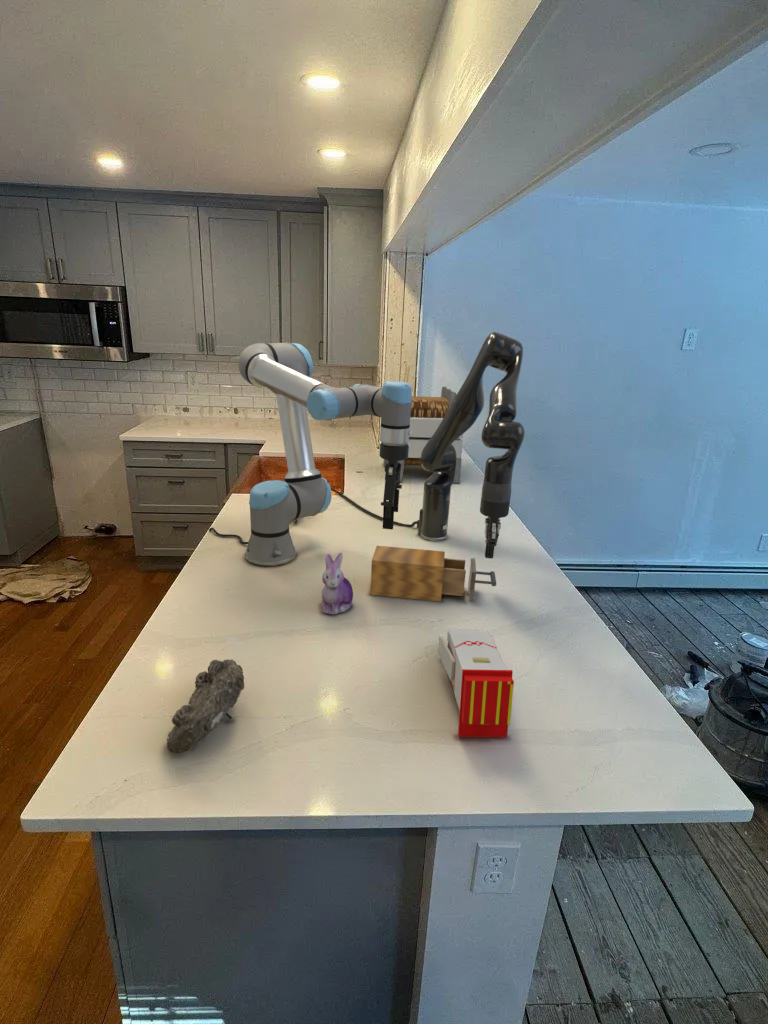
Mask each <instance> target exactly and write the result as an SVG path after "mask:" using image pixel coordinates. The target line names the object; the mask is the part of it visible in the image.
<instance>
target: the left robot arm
mask: <svg viewBox="0 0 768 1024" xmlns="http://www.w3.org/2000/svg"><path fill="white" fill-rule="evenodd" d="M237 363H238V371H239V373H240V375H241V377H242V378H243V379H244V380H245V381H246V382H247V383H249V384H250V385H252V386H254V387H256V388H260V389H261V388H262V389H263V388H267V389H268V390H270V391H271V392H272V393H273V394H274V395H275V396H276V402H277V409H278V414H279V421H280V428H281V433H282V440H283V447H284V453H285V459H286V466H287V473H286V474H285V476H284V477H283V479H284V480H280V479H274V480H266V481H262V482H259V483H257V484H255V485H253V487H252V488H251V489H250V491H249V501H248V504H249V516H250V517H249V519H250V536H249V539H248V541H244V540H243V539H242V536H240V535H238V534H224V533H220V532H218V531H217V530H216V529H215V528H214V527H209V529H208V531H213V532H214V534H216V535H217V536H219V537H224V538H225V537H228V538H229V537H230V538H232V537H233V538H237V539H238V540H239V542H240V544H243V545H247V546H246V549H245V560H247V562H249V563H250V564H253V565H255V566H261V567H276V566H282V565H286V564H289V563H291V562H292V561H293V560H294V559H295V558H296V555H297V554H296V552H297V551H296V547H295V545H294V543H293V538H292V536H291V533H290V522H294V521H295V520H297V521H298V520H300V519H304V518H307V517H315V516H316V515H319V514H322V513H324V512H325V511H327V510H328V508H329V506H330V504H331V502H332V490H331V488H332V487H331V485H330V483H328V482H329V481H328V479H326V478H325V477H323V476H322V473H321V471H320V470H319V469H317V468H316V465H315V464H316V463H315V456H314V451H313V444H312V436H311V430H310V423H309V416H308V414H309V415H310V416H311V418H312V419H314V420H316V421H332V420H338V419H344V418H352V417H361V416H374V417H376V418H377V417H378V418H380V429H379V441H380V443H379V458H381V459H382V460H384V459H386V460H388V463H386V465H385V466H384V472H385V473H384V489H383V501H381V502H380V506H382V508H383V509H382V517H383V520H382V530H394V524H393V521H395V513H398V512H399V500H400V490H401V489H403V484H401V482H400V472H401V464H400V460H405V459H407V458H408V451H409V445H408V444H407V443H408V442H409V435H411V434H412V432H411V431H409V429H410V414H411V403H412V396H413V395H412V394H413V393H412V388H413V387H412V386H411V384H410V383H409V382H406V381H397V380H389V381H384V382H383V383H382V385H381V386H382V387H380V386H375V385H370V384H368V383H355V384H353V385H352V386H348V387H347V386H346V387H345V386H344V387H333V386H330V385H328V384H326V383H324V382H321V381H319V380H317V379H315V378H313V377H312V375H313V371H314V363H313V358H312V356H311V353H310V352H309V350H308V349H307V348H305V346H303V345H302V344H300V343H297V342H256V343H253V344H251V345H248V346H247V347H245V348H244V349H243V351H242V352H241V353H240V354H239V358H238V362H237Z"/></svg>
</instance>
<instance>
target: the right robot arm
mask: <svg viewBox="0 0 768 1024" xmlns="http://www.w3.org/2000/svg"><path fill="white" fill-rule="evenodd" d="M523 357H524V346H523V344H522V342H521V341H520V340H517V339H515V338H512V337H510V336H508V335H506V334H503V333H500V332H496V331H492V332H490V333H489V334H488V335H487V336H486V338H485V340H484V341H483V342H482V345H481V347H480V349H479V351H478V353H477V355H476V357H475V360H474V362H473V364H472V366H471V368H470V370H469V372H468V374H467V375H466V378H465V380H464V381H463V383H462V385H461V386H460V388H459V389H458V392H456V396H455V398H454V400H453V402H452V403H451V405H450V407H449V409H448V411H447V413H446V415H445V416H444V418H443V420H442V422H441V423H440V425H439V427H438V428H437V430H436V431H435V433H434V434H433V436H432V437H431V438H430V440H429V441H428V443H427V444H426V445H425V447H424V448H423V450H422V453H421V465H422V466H421V467H422V469H423V470H424V471H426V472H428V473H432V474H431V475H430V476H429V477H427V478H426V479H425V480H424V482H423V493H422V496H423V497H422V506H421V508H420V509H419V516H418V520H416V521H413V522H412V523H410V524H409V523H408V524H406V523H402V522H398V521H395V520H394V521H393V525H396V526H399V527H405V528H413V527H414V526H415V525H416V529H417V535H418V536H420V538H421V539H424V540H426V541H432V542H440V541H444V540H446V539H447V538H448V527H449V517H450V516H449V514H450V504H451V494H452V493H451V491H452V486H453V484H454V483H453V482H454V476H455V469H456V461H457V455H456V450H455V448H454V446H453V445H452V443H453V442H454V441H455V440H456V439H457V438H459V437H460V436H461V435H462V434H463V435H464V434H465V433H466V432H467V431H468V430H470V429H471V427H473V425H475V422H477V420H478V418H479V416H480V415H481V413H482V411H483V409H484V407H485V393H484V383H483V382H484V379H483V378H484V373H485V371H486V369H487V368H488V367H491V368H493V369H495V370H497V371H498V370H499V371H501V372H504V373H505V376H504V377H502V378H501V379H500V380H499V381H498V382H496V384H495V385H494V386H493V388H492V389H491V390H490V394H489V403H488V404H489V407H488V416H487V417H486V418H487V419H486V420H485V423H484V425H483V427H482V431H481V435H480V438H481V442H482V444H483V445H484V446H485V448H488V449H497V450H498V449H499V450H506V451H505V452H504V453H503V454H500V455H495V456H490V457H488V458H487V459H486V461H485V467H484V477H483V482H482V487H481V494H480V505H479V512H480V514H481V515H482V516H485V518H484V537H485V540H484V541H485V547H484V548H485V550H484V558H485V559H493V558H494V555H495V547H497V544H498V540H499V536H500V530H501V527H502V523H501V518H506V517H508V516H509V513H510V505H511V498H512V497H511V495H512V479H513V472H514V466H515V464H516V463H515V462H516V460H517V457H518V454H519V452H520V449H521V447H522V445H523V443H524V440H525V436H526V430H525V427H524V425H523V424H522V423H521V422H519V421H514V420H515V419H516V418H517V414H518V400H517V394H518V393H517V391H518V384H519V380H520V376H521V369H522V363H523ZM331 492H334V493H335V494H337V495H339V496H341V497H342V498H344V499H345V500H347V501H348V502H349V503H350V504H352V505H353V506H354V507H357V509H359V510H361V511H362V512H365V513H366V514H367V515H370V516H372V517H374V518H377V519H379V520H381V521H383V516H380V515H378V514H376V513H373V512H372V511H369V510H368V509H366V508H364V507H363V506H361V505H360V504H358V503H356V502H355V501H354V500H352V499H351V498H349V497H348V496H347V495H345V494H343V493H342V492H340V491H338V489H334V488H332V487H331Z"/></svg>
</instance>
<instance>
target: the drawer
mask: <svg viewBox="0 0 768 1024" xmlns="http://www.w3.org/2000/svg"><path fill="white" fill-rule="evenodd" d="M469 562H470V564H469V573H468V583H467V588H468V589H467V590H468V601H474V596H475V590H476V589H475V588H476V584H483V585H491V587H496V586H497V578H496V572H495V571H494V570H491V571H490V572H489V571H478V570H477V563H476V558H475V557H471V558H470V561H469ZM466 572H467V570H466V559H460V558H459V559H458V558H449V557H448V558H446V557H444V574H443V585H442V595H447V596H456V597H457V596H459V597H464V591H465V583H466ZM477 575H483V576H489V577H490V581H488V580H479V579H476V578H477Z"/></svg>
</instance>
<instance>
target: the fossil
mask: <svg viewBox="0 0 768 1024" xmlns="http://www.w3.org/2000/svg"><path fill="white" fill-rule="evenodd" d="M243 670H244V669H243V667H242V665H240V664H237V662H236V661H235V660H234V659H232V658H231V659H227V658H226V659H224V660H223V661H222V660H217V659H212V660H211V661H210V663H209V665H208V666H207V671H201V672H199V673H198V674H197V675H196V676H195V680H194V684H195V685H194V687H195V689H194V690H193V693H192V694H191V697H190V698H189V700H188V704H184V705H182V706H181V707H180V709H177V710H176V711H175V713H174V715H173V716H172V718H171V723H172V724H173V727H172V730H171V731H170V732H168V734H167V738H166V741H167V742H166V745H167V749H168V750H169V751H173V752H174V753H176V754H178V753H182V752H188V751H189V752H192V751H193V750H195V748H196V747H197V746H199V744H200V743H201V742H203V741H204V740H205V739H206V738H207V737H208V736H209V735H210V734H211V733H212V732H214V730H215V729H217V727H218V726H219V724H220V722H221V721H222V720H223V719H224V718H225V716H226V717H227V719H229V720H233V717H232V715H230V714H229V710H230V709H231V708H234V706H235V704H236V703H237V702H238V699H239V697H240V695H241V693H242V691H243V690H245V689H244V688H245V675H244V671H243Z"/></svg>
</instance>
